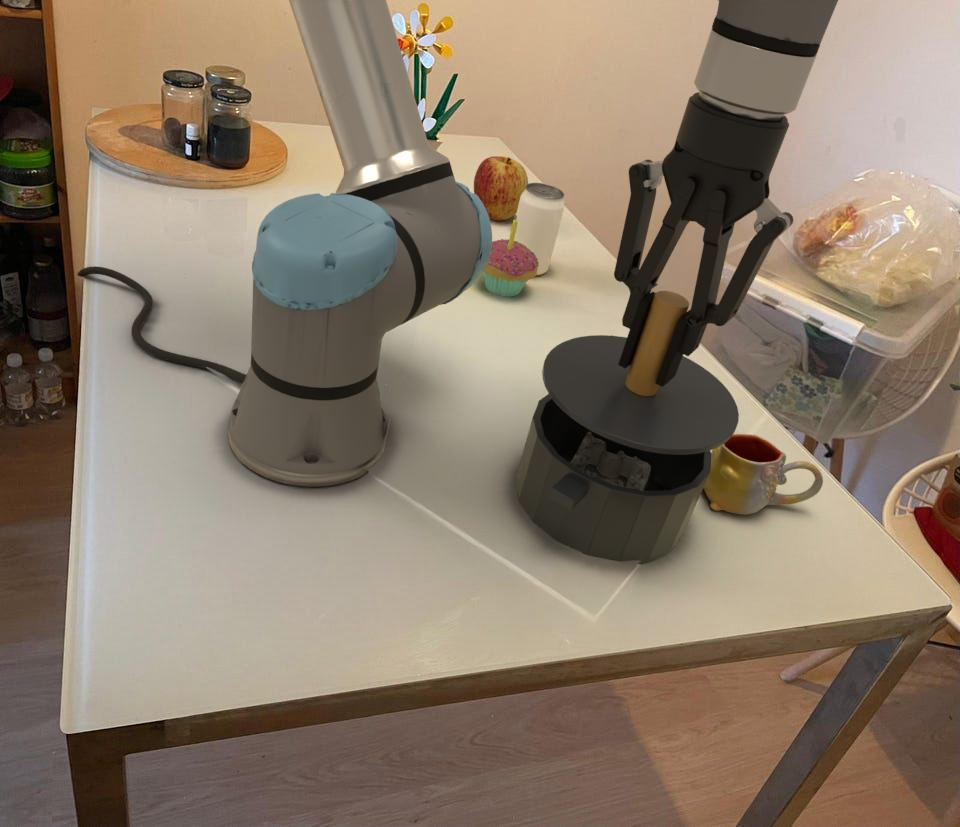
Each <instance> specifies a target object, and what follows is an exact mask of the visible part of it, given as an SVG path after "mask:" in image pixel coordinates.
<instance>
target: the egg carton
mask: <svg viewBox="0 0 960 827" xmlns="http://www.w3.org/2000/svg"><path fill="white" fill-rule="evenodd" d="M606 449H607V448H606V443H605V442H604V441H602V440H600V439H598V438H595V437H593V436H592V432H591V431H589V432H588V433H587V434H586V436H585V438H584V439H583V441H582V443H581V445H580V447H579V449H577V450H576V452H575V454H574V456H573V458H572V459H571V461H570V463H571V464H572V465H574V466H575V467H576V468H578V469H579V470H580V471H582V472H584V473H586V474H588V475H591V476H593V477H595V478H598V479H600V480H602V481H605V482H607V483H609V484H611V485H615V486H620V487H625V488H630V489H635V490H640V491H644V490H645V487H646V485H647V482H648V481H649V477H650V475H649V474H650V471H651V466H650V465H649V464H648V463H647V462H644V461H641V460H640V459H638V458H637V457H636V456H635V457H634V458H633V457H629V456H627V455H625V454H624V452H623V451H619V452H618V454H617V455H616V454H613V453H610V452H607V451H606ZM588 465H592V466H594V467H596V470H597V472H598V473H599V474H601V475H603V476H605V477H608V478H603V477H602V476H600V475H598V473H597V472H595V471H594V469H592V471H590V470H589V469H587V470H586V467H587V466H588ZM590 472H591V474H590ZM620 476H622V477H625V478H626V479H627V482H626V485H624V484H623V482H624V480H623V479H619V477H620ZM614 478H615V479H614ZM617 482H618V483H617Z"/></svg>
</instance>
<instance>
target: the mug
mask: <svg viewBox="0 0 960 827" xmlns="http://www.w3.org/2000/svg"><path fill="white" fill-rule="evenodd" d="M710 452H711V454H712V455H711V472H710V474H709V477H708V479H707V481H706V483H705V486H704V488H703V491H704V493H705V495H706V497H707V499H708V501H710V505H709V506H710V509H712V510H713V511H717V512H718V511H723V512H724V511H725V512H727V513H729V514H736V515H742V516H743V515H744V516H747V515H754V514H755V513H756V514H757V513H758V512H759V511H760V510H762V509H763V508H764V507H766V506H783V505H784V506H785V505H795V504H798V503H802V502H805V501H807V500H809V499H811V498H813V497H815V496H816V495H817V494H818V493H819V492H820V491H821V489H822V488H823V483H824V478H823V475H822V473H821V471H820V469H819V468H818V466H816V465H815V464H813V463H811V462H808V461H804V460H797V461H793V462H789V463H787V464H786V461H787V454H786V453H785V452H784V451H781V450H780V449H779V448H778V447H776V446H775V444H773V443H772V442H770V441H768V440H767V439H765V438H763V437H761V436H759V435H756V434H749V433H734V434H733V435H732V437H731V438H730V439H729V440H728V441H727V442H726V443H724V444H723V445H721V446H719V447H718V448H715V449H713V450H711V451H710ZM799 469H800V470H807V471H809V472H811V473H812V474H813V477H814V480H813V482H812V484H811V485H810V487H808V489H806V490H804V491H802V492H799V493H792V494H791V493H789V494H784V493H779V492H777V487H778V486H783V485H785V484H786V483H787V482H788V478H787V476H786V473H788V472H790V471H793V470H799Z"/></svg>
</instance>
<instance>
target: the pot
mask: <svg viewBox="0 0 960 827" xmlns="http://www.w3.org/2000/svg"><path fill="white" fill-rule="evenodd" d="M589 431H591V430H589V429H587V428H586V427H584V426H582V425H581V424H579V423H578V422H576V421H575V420H574V419H572V418H571V417H570V416H568V415H567V414H566V413H565V412H564V411H563V410H562V409H561V408H560V407H559V406H558V405H557V404H556V403H555V402H554V400H553V399H552V398H551V396H550V395H549V393H548V394H546V395H545V396H544V397H542V398H540V399H539V401H538V403H537V405H536V408H535V410H534V413H533V414H532V418H531V422H530V426H529V428H528V433H527V437H526V440H525V443H524V447H523V451H522V454H521V457H520V458H521V459H520V462H519V465H518V469H517V473H516V475H515V480H514V482H515V489H516V493H517V497H518V498H517V499H518V502H519V504H520V506H521V507H522V509H523V510H524V511H525V513H526V514H527V516H528V517H529V518H530V521H531V522H532V523H533V524H534V525H536V526H537V527H538V528H539V529H541V530H542V531H544V532H545V533H546V534H547V535H548V536H549V537H550V538H553V540H555V541H556V542H557V543H559V544H562V545H564V546H566V547H569V548H570V549H573V550H575V551H577V552H579V553H582V554H584V555H586V556H590V557H595V558H599V559H605V560H609V561H615V562H632V561H639V562H638V565H640V564H641V565H642V564H646V563H649V562H653V561H656V560H658V559H660V558H662V557H664V556H666V554H668V553H670V552H671V551H672V550H673V549H674V548H675V547H676V545H677V543H678V542H679V541H680V539H681V537H682V536H683V535H684V533H685V530H686V528H687V526H688V524H689V521H690V519H691V517H692V515H693V512H694V510H695V508H696V506H697V504H698V501H699V499H700V496H701V494H702V492H703V491H704V486H705V483H706V481H707V479H708V477H709V474H710V472H711V455H712V454H711V452H712V451H711V450H710V451H706V452H702V453H697V454H687V455H672V454H661V453H655V452H648V451H644V450H640V449H636V448H632V447H629V446H626V445H622V444H619V443H617V442H614V441H612V440H609V439H607V438H605V437H603V436H600V435H598V434H596V433H594V432H592V431H591V432H592V436H593V437H595V438H598V439H600V440H602V441H604V442H605V443H606V448H607V449H606V451H607V452H610V453H613V454H616V455H617V454H618V452H619V451H623V452H624V454H625V455H627V456H629V457H633V458H634V457H635V456H636V457H637V458H638V459H640V460H641V461H644V462H647V463H648V464H649V465H650V466H651V471H650V474H649V476H651V477H652V478H654V479H655V480H656V482H657V483H658V484H659V485H660V487H662V489H663V490H643V491H640V490H635V489H630V488H625V487H626V486H624V487H620V486H615V485H611V484H609V483H607V482H605V481H602V480H600V479H598V478H595V476H591V475H592V474H589V475H588V474H586V472H585V471H584V472H582V471H580V470H579V469H578V468H576V467H575V466H574V465H572V464H571V462H569V461H568V460H567V459H565V457H562V456H561V455H560V454H559V453H558V452H557V451H560V450H578V449H579V447H580V445H581V443H582V441H583V439H584V438H585V436H586V434H587V433H588V432H589Z"/></svg>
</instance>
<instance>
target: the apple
mask: <svg viewBox="0 0 960 827" xmlns="http://www.w3.org/2000/svg"><path fill="white" fill-rule="evenodd" d="M527 184H529V178H528V175H527V172H526V169H525V168H524V166H523V165H522V164H521V163H519V162H518V161H517V160H515V159H513V158H511V157H508V156H504V155H503V156H499V155H498V156H496V155H495V156H490V157H487V158H485V159H483V160H482V162H480V164H479V165H478V167H477V170H476V172H475V174H474V179H473V194H476V195H477V196H478V197H479V199H480V200H481V202H482V203H483V205H484V207H485V209H486V211H487V213H488V216H489V219H490V220H493V221H498V222H500V221H505V220H509V219H510V218H512V217H514V216H516V213H517V209H518V205H519V201H520V197H521V194H522V193H523V192H524V191H525V189H526V185H527Z"/></svg>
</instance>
